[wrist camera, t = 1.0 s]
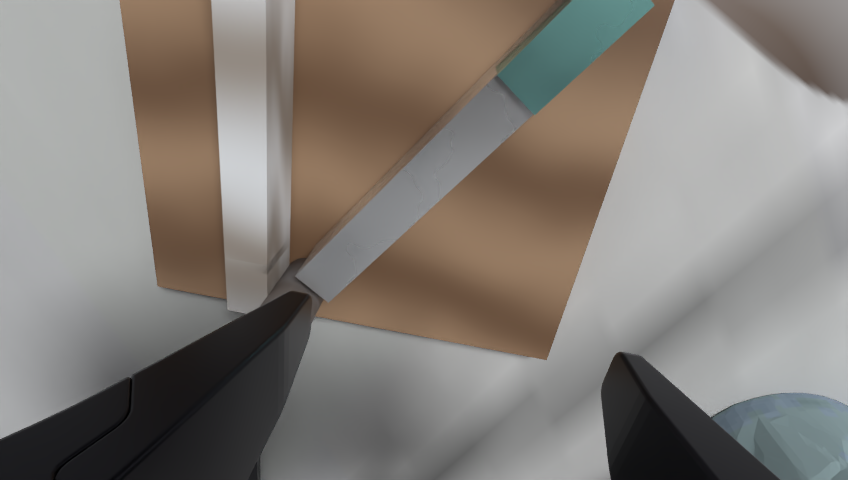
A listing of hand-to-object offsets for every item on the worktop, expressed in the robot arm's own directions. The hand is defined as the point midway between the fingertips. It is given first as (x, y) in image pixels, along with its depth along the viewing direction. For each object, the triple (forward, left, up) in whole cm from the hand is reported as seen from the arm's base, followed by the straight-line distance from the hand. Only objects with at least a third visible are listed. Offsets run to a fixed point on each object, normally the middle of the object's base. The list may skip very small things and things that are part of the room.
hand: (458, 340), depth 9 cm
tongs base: (+1, +4, -11) cm, 12 cm away
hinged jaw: (+1, +1, -10) cm, 10 cm away
